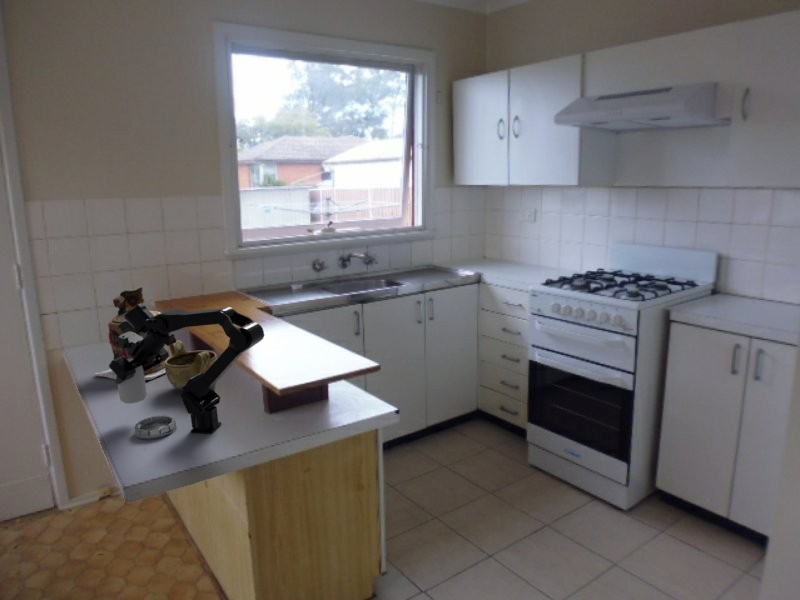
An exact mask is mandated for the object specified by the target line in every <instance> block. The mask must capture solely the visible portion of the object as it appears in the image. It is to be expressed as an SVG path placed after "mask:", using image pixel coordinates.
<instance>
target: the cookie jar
mask: <svg viewBox="0 0 800 600" xmlns="http://www.w3.org/2000/svg"><path fill="white" fill-rule="evenodd" d="M143 289H144V288H143V286H139V287H137V288H136V289H126V290H123V291H121V292H120V294H119V295H118V296H117V297H115V298H113V299H112V303H113V304H114V305H113V306H114V308H118V311H117V314H116V315H114V316H113V317H112V318H111V319H110V321H109V322H108V325H107V326H108V327H107V328H108V334H107V335H108V343H109V344H110V346H111V350H112V353H113V360H114V359H117V358H119V357H125V358H126V359H133V358H132V357H133V356H130V355H129V354H128V352H129V350H127V349H125V348H124V349H121V348H120V347H118V346H116V339H118V337H119V336H120V335H121V334H124V333H126V332H134V333H136V334H137V335H139V336H141V337H142V338H144V337H145V336H146V334H147V333H148V332H149V331H148V332H146V333H143V332H141V333H138V332H137V331H136V330H135V329H134V328H133V327H132V326H131V325H130V324H129V323H128V322H127V321H126V320H125V319H124V317H125V315H126V313H128V312H129V311H130V310H132V309H133V308H135V307H136V306H137V305H138V304H141V303H143V304H144V302H145V298H144V294H143ZM149 311H150V312H151V313H152V314H153V315H154V316H156V315H158V314H161V313H162V312H160V311H155V310H149ZM163 347H164V348H165V349H166V350H167V351H168V350H169V349H168V346H167V345H166V344H165V345H164V346H163ZM168 352H169V351H168ZM168 358H169V357H168ZM168 358H167V359H168ZM158 359H160V358H158ZM167 359H166V360H167ZM166 360H165V361H166ZM165 361H163V362H161V363H160V364H158V365H156V366H154V367H152V368H150V369H148V370H146V371H144V377H145V381H148V380H149V381H150V380H153V379H155V378H157V377H160V376H162V375H164V374H166V371H165ZM94 376H96V377H103V378H104V377H105V378H108V379H110V380H111V379H112V380H115V381H116V374H115V373H114V372H113V371H112V370H111V369H110V368H109V369H107V370H103V371H99V372H95V373H94Z"/></svg>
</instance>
